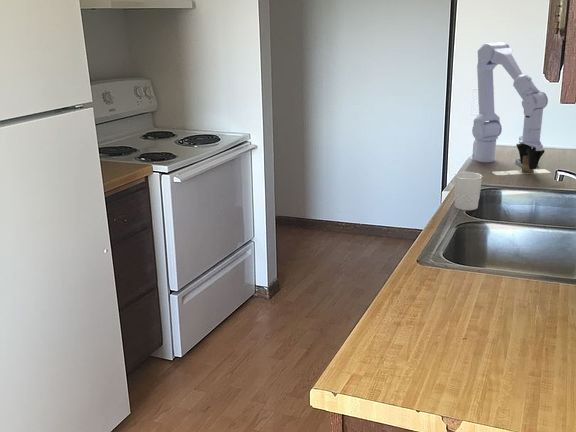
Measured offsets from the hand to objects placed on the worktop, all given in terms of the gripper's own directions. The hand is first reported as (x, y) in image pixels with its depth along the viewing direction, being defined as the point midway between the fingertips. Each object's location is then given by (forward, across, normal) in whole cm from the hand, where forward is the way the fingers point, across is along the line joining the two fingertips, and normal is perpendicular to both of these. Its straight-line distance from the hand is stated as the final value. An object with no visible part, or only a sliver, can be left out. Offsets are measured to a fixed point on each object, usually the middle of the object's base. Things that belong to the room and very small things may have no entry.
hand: (528, 166), depth 218 cm
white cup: (+3, +31, -32) cm, 45 cm away
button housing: (+3, -9, +4) cm, 10 cm away
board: (+3, 0, -2) cm, 4 cm away
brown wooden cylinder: (+2, 0, 0) cm, 2 cm away
